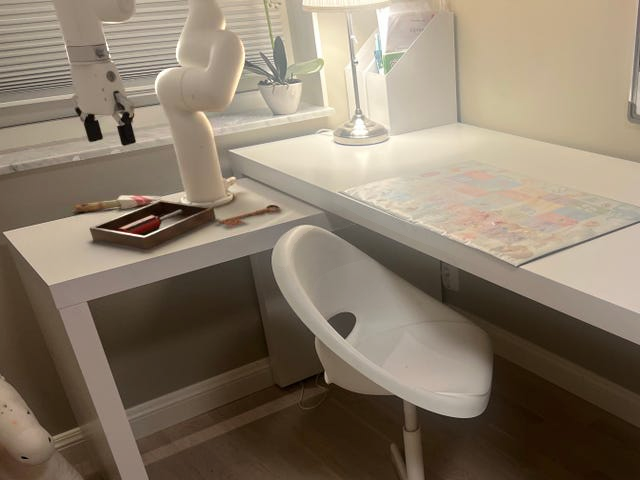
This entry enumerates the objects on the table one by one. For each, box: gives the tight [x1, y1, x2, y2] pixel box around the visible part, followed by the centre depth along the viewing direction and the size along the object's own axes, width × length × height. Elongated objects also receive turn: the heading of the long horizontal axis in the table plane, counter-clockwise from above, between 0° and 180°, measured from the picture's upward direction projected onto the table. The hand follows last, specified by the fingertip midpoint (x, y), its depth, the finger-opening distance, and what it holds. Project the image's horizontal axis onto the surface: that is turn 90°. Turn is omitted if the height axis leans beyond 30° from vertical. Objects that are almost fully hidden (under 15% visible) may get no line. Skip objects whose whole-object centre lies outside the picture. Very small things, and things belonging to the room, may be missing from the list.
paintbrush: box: [74, 194, 163, 213], centre depth 180 cm, size 4×3×20 cm
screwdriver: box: [118, 210, 182, 236], centre depth 165 cm, size 17×3×3 cm, turn 155°
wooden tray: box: [89, 199, 217, 251], centre depth 165 cm, size 21×17×3 cm
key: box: [218, 204, 281, 227], centre depth 172 cm, size 6×1×15 cm
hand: (112, 142), depth 152 cm, fingers open, 9 cm apart
